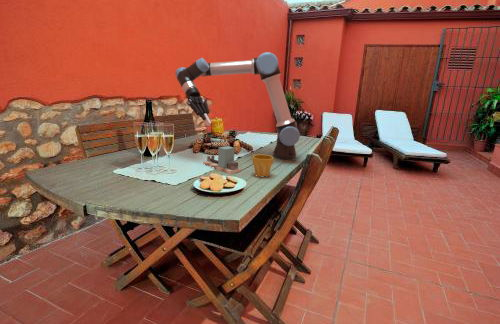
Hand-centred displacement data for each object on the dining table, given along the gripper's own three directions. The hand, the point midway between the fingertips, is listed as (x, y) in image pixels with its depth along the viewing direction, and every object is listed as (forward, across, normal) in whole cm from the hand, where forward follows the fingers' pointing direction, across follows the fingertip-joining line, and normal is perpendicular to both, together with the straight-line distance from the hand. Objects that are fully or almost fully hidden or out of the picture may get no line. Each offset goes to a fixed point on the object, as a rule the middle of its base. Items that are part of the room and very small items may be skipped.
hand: (209, 124), depth 153 cm
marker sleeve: (+25, 0, -4) cm, 25 cm away
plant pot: (+39, -8, +8) cm, 41 cm away
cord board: (+23, 0, -7) cm, 25 cm away
